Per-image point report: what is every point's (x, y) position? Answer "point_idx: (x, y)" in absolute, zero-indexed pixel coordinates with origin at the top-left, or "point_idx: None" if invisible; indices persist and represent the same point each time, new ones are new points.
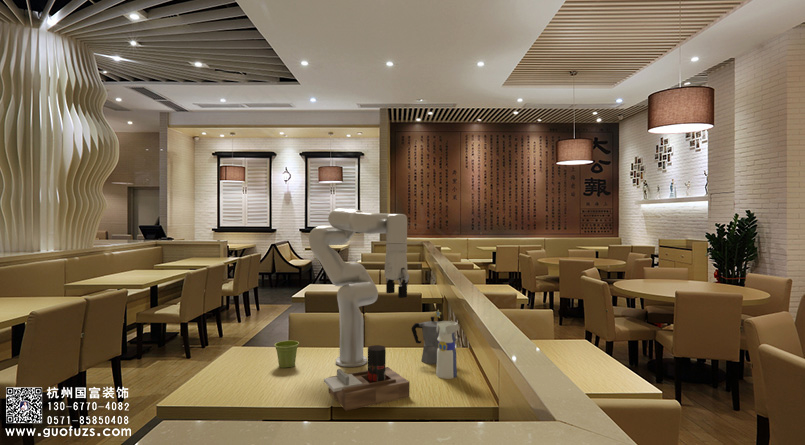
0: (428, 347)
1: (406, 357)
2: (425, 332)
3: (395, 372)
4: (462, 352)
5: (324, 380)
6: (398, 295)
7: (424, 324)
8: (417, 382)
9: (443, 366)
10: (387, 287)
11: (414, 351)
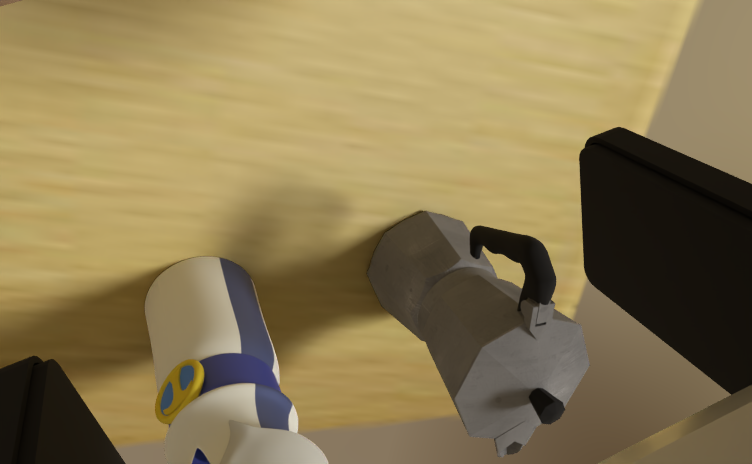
0: (425, 280)
1: (501, 141)
2: (479, 312)
3: (5, 2)
4: None
5: None
6: (12, 386)
7: (522, 336)
8: (97, 142)
9: (159, 319)
10: (671, 193)
11: (569, 194)
